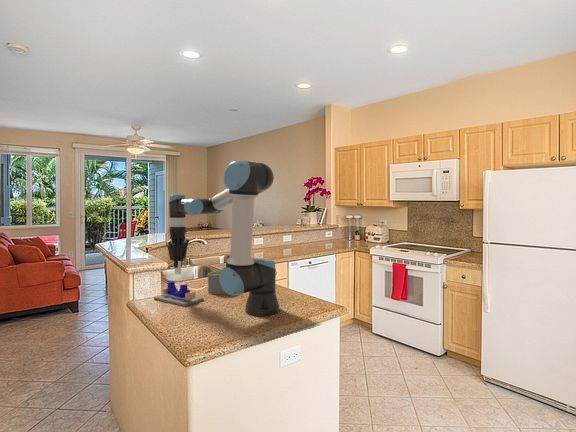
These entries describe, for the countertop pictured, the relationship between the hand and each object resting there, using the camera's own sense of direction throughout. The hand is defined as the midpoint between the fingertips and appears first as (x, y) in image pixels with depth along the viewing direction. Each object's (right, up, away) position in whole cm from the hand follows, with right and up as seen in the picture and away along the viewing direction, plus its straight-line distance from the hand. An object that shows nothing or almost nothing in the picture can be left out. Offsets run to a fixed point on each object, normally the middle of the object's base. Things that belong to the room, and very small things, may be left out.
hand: (178, 274), depth 173 cm
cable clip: (0, -11, +1) cm, 11 cm away
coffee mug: (+16, -12, +18) cm, 27 cm away
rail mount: (0, -13, 0) cm, 13 cm away
